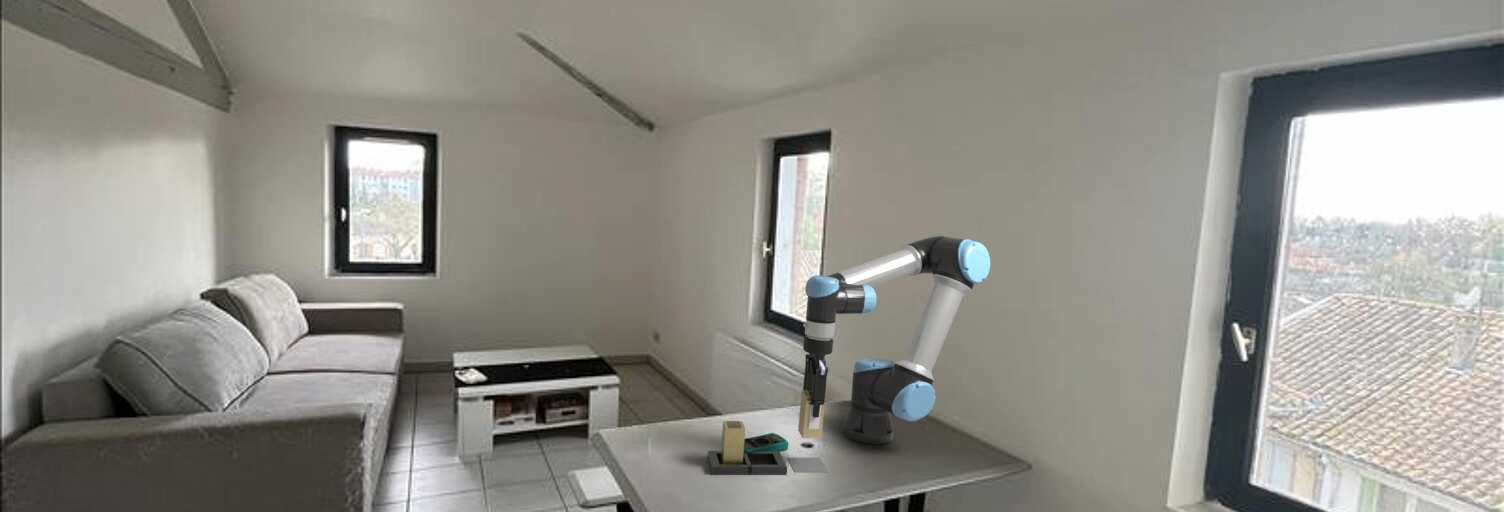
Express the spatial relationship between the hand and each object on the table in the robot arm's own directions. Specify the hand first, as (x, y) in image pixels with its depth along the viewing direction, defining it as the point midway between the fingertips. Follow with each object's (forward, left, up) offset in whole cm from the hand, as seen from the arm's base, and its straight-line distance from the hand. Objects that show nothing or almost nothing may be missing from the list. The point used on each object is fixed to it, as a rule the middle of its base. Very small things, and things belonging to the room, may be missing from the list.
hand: (810, 424), depth 176 cm
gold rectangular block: (+20, +1, -11) cm, 23 cm away
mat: (0, 0, -12) cm, 12 cm away
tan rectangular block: (0, 0, -3) cm, 3 cm away
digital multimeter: (+11, -10, -11) cm, 18 cm away
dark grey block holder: (+16, +1, -12) cm, 20 cm away
